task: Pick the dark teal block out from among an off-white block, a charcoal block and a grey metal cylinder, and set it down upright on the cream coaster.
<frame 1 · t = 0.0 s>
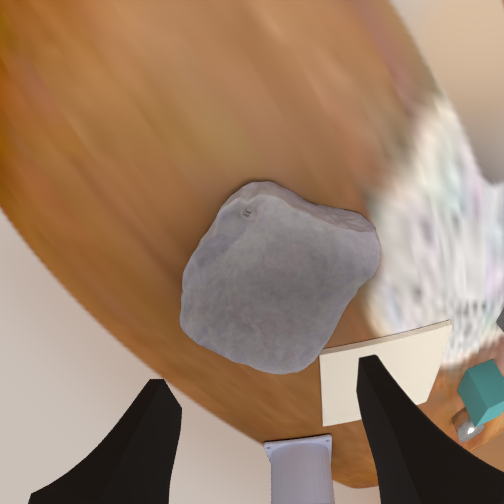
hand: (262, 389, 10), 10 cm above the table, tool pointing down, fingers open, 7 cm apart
grey cylinder: (463, 413, 30), on the table
coaster: (382, 379, 25), on the table
teal block: (474, 374, 26), on the table
stone block: (266, 267, 20), on the table
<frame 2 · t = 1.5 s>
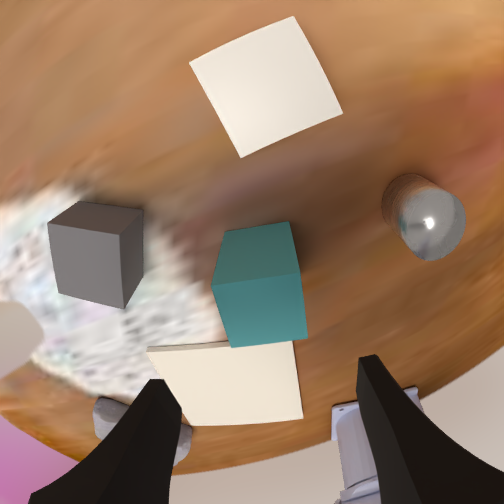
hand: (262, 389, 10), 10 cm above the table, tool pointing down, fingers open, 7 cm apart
charcoal block: (111, 238, 19), on the table
grey cylinder: (408, 203, 18), on the table
coaster: (232, 387, 26), on the table
teal block: (262, 254, 20), on the table
off-white block: (265, 89, 15), on the table
stone block: (143, 424, 32), on the table
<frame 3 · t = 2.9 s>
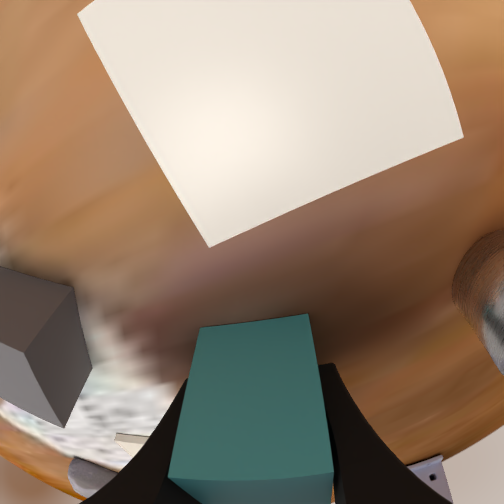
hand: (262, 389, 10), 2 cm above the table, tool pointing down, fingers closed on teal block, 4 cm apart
charcoal block: (42, 317, 12), on the table
grey cylinder: (487, 273, 10), on the table
coaster: (224, 472, 18), on the table
teal block: (262, 358, 12), on the table, touching gripper
off-white block: (269, 71, 7), on the table
stone block: (128, 482, 23), on the table
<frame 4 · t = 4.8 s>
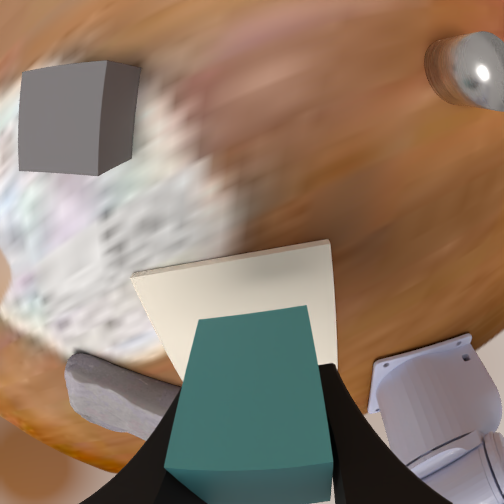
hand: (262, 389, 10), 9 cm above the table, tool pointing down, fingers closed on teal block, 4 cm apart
charcoal block: (96, 112, 14), on the table
grey cylinder: (452, 71, 12), on the table
coaster: (246, 333, 20), on the table
teal block: (261, 351, 12), point 7 cm above the table, touching gripper
stone block: (132, 394, 25), on the table
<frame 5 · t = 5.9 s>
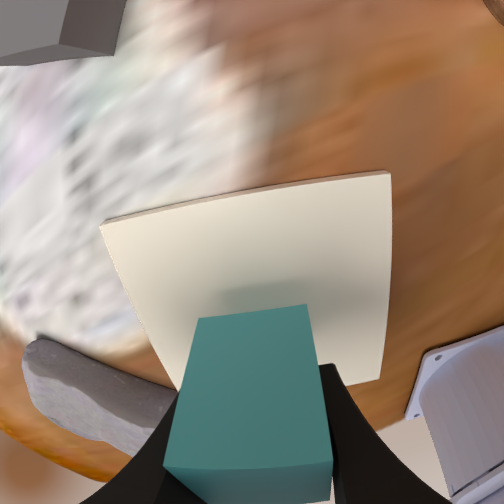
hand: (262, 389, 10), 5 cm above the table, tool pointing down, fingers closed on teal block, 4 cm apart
charcoal block: (78, 9, 8), on the table
coaster: (263, 313, 14), on the table
teal block: (260, 350, 12), point 3 cm above the table, touching gripper
stone block: (109, 395, 19), on the table
when the fingers open (4 cm above the table, at t = 6.5 s): teal block drops 1 cm, resting on coaster.
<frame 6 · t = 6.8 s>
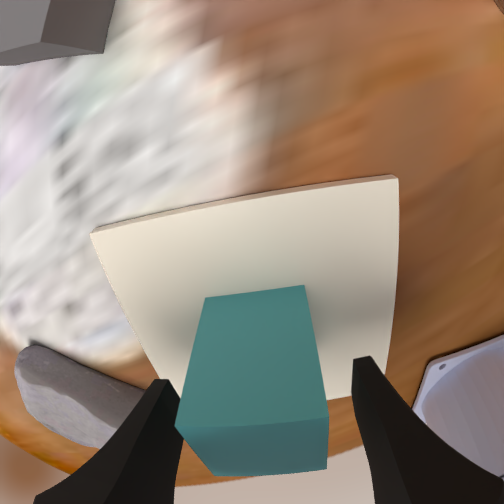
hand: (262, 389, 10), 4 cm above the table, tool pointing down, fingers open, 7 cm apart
charcoal block: (67, 5, 7), on the table
coaster: (262, 324, 14), on the table
teal block: (261, 328, 13), point 1 cm above the table, touching coaster
stone block: (104, 402, 19), on the table
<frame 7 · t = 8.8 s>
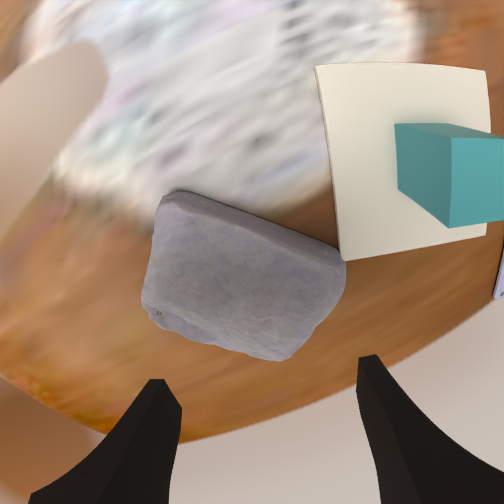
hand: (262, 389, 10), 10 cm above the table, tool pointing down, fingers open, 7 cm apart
coaster: (419, 158, 16), on the table
teal block: (424, 155, 15), point 1 cm above the table, touching coaster
stone block: (236, 275, 21), on the table
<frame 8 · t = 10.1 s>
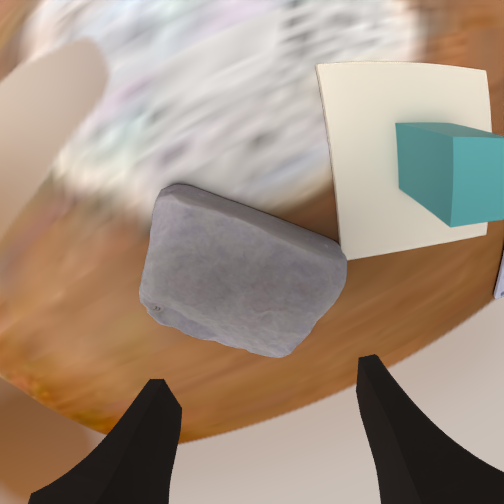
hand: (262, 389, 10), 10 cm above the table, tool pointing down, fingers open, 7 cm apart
coaster: (420, 157, 16), on the table
teal block: (425, 154, 15), point 1 cm above the table, touching coaster
stone block: (235, 270, 21), on the table
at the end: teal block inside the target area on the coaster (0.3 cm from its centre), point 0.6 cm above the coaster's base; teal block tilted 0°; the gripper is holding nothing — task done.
